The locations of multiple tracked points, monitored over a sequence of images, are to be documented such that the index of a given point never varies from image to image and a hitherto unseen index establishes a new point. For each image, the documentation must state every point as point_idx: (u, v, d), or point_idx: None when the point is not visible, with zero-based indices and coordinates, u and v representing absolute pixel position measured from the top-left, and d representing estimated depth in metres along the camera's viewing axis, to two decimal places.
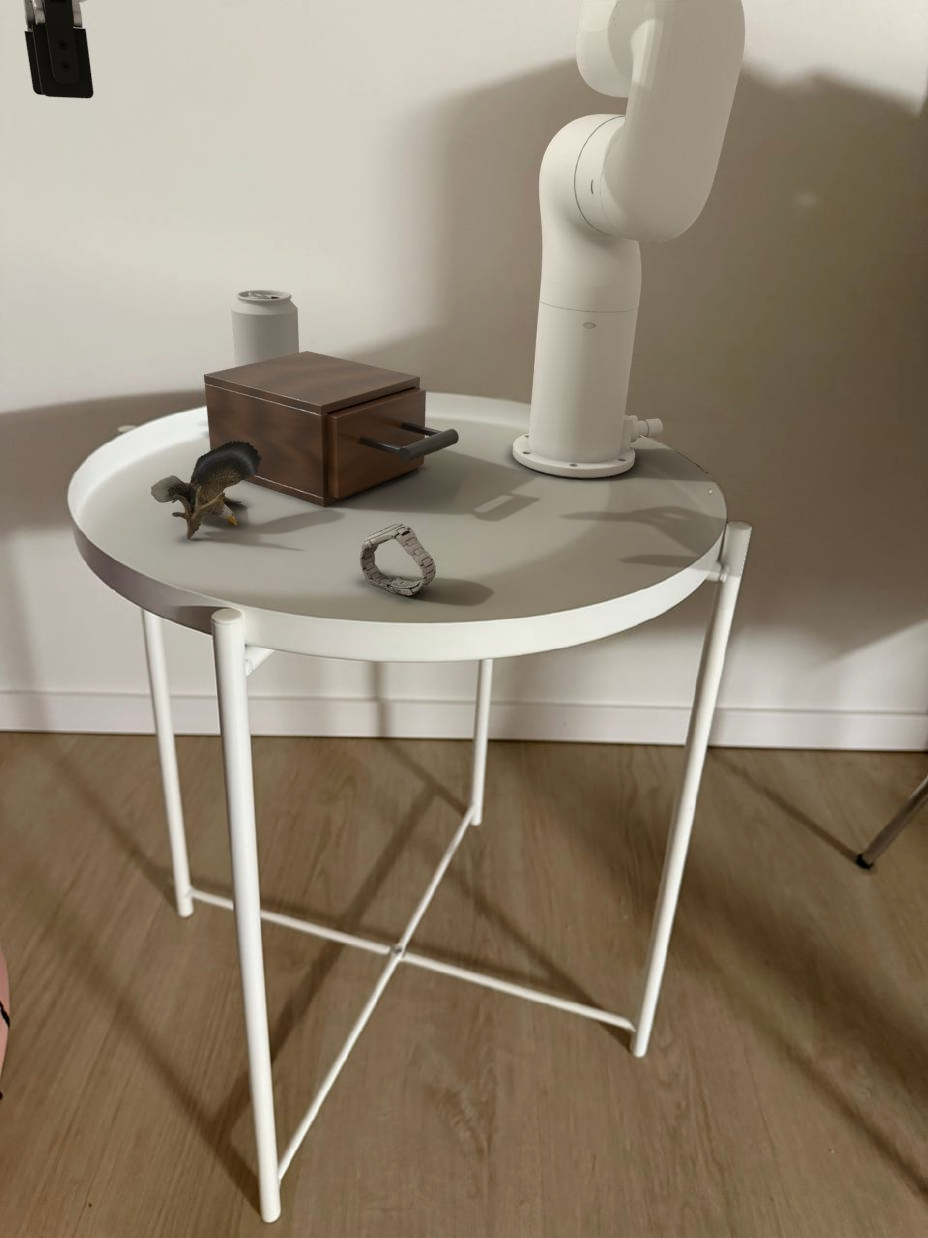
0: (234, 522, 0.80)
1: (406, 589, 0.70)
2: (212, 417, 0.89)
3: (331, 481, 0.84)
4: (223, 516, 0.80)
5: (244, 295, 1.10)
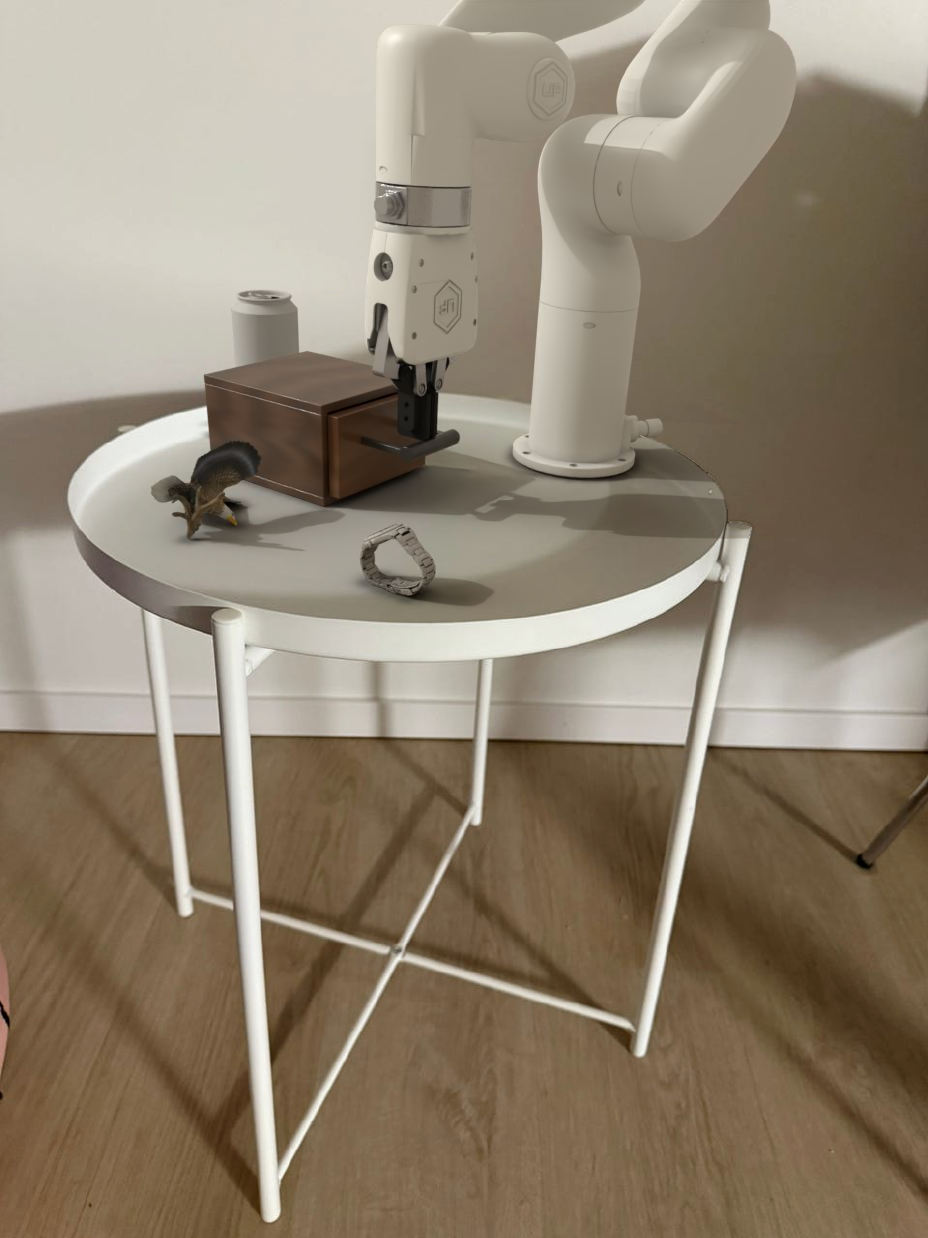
0: (234, 522, 0.80)
1: (406, 589, 0.70)
2: (212, 417, 0.89)
3: (332, 481, 0.84)
4: (223, 516, 0.80)
5: (244, 295, 1.10)
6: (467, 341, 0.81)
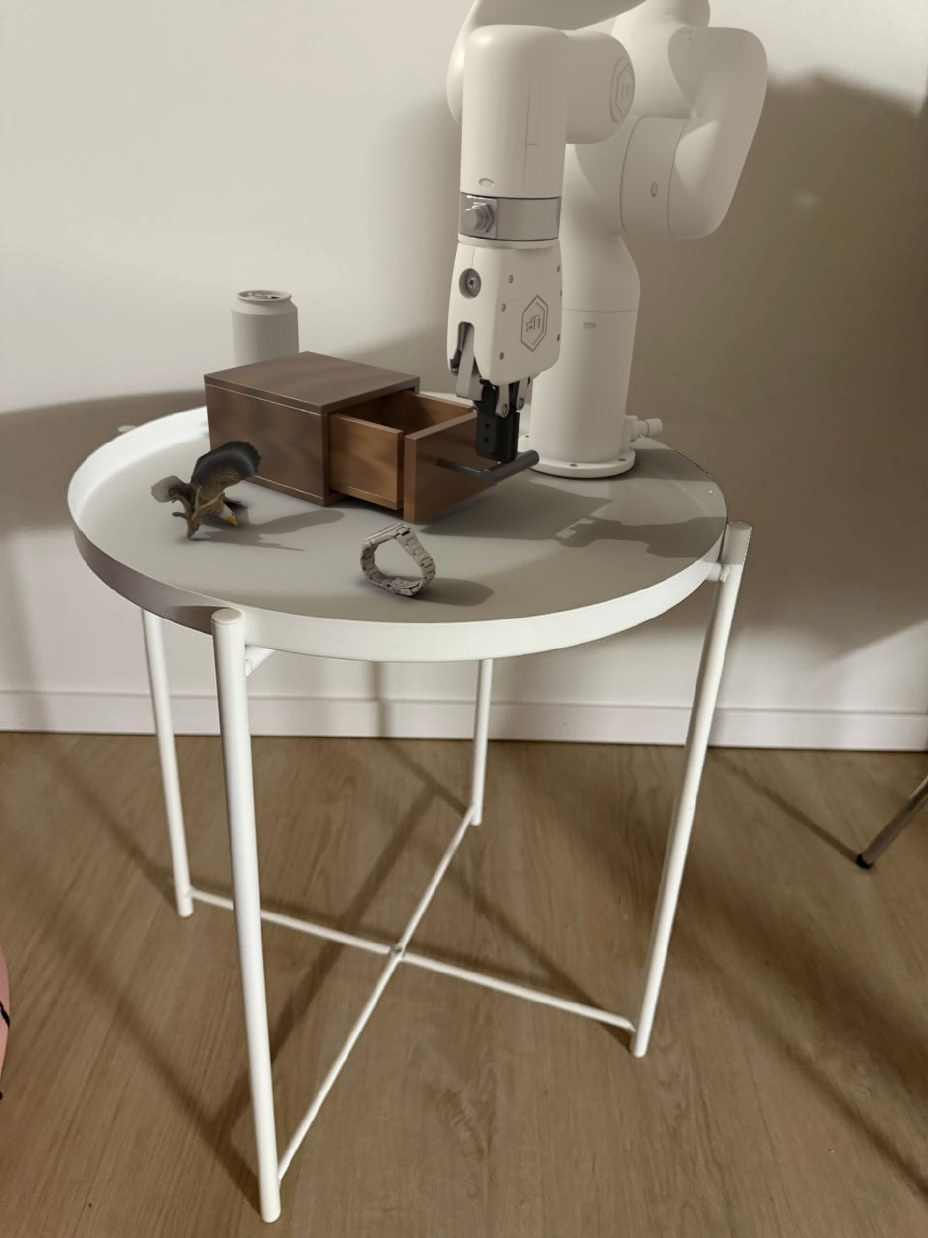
0: (234, 522, 0.80)
1: (406, 589, 0.70)
2: (212, 417, 0.89)
3: (407, 505, 0.80)
4: (223, 516, 0.80)
5: (244, 295, 1.10)
6: (550, 358, 0.77)
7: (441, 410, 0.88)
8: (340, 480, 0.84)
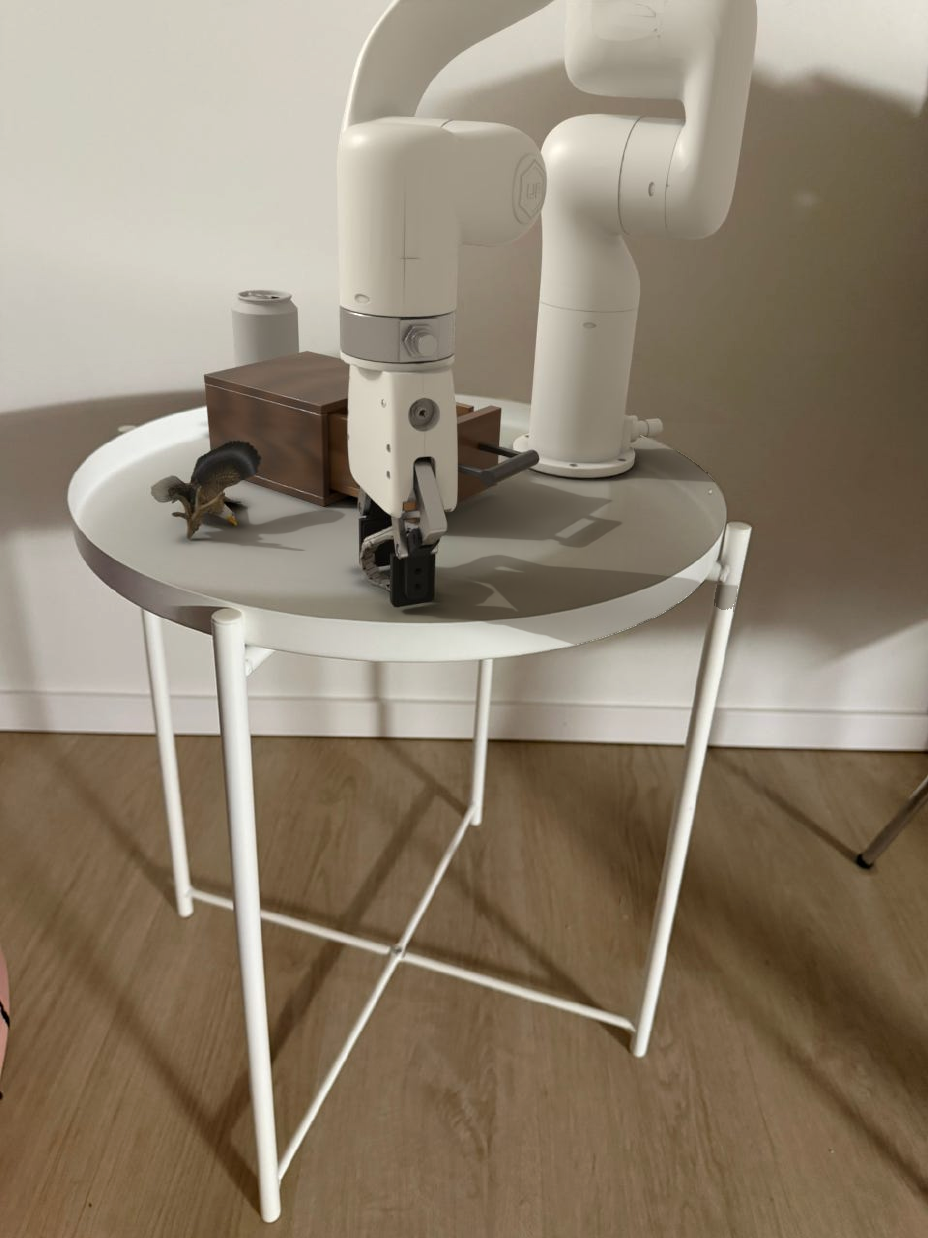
0: (234, 522, 0.80)
1: None
2: (212, 417, 0.89)
3: (407, 505, 0.80)
4: (223, 516, 0.80)
5: (244, 295, 1.10)
6: None
7: None
8: (340, 480, 0.84)
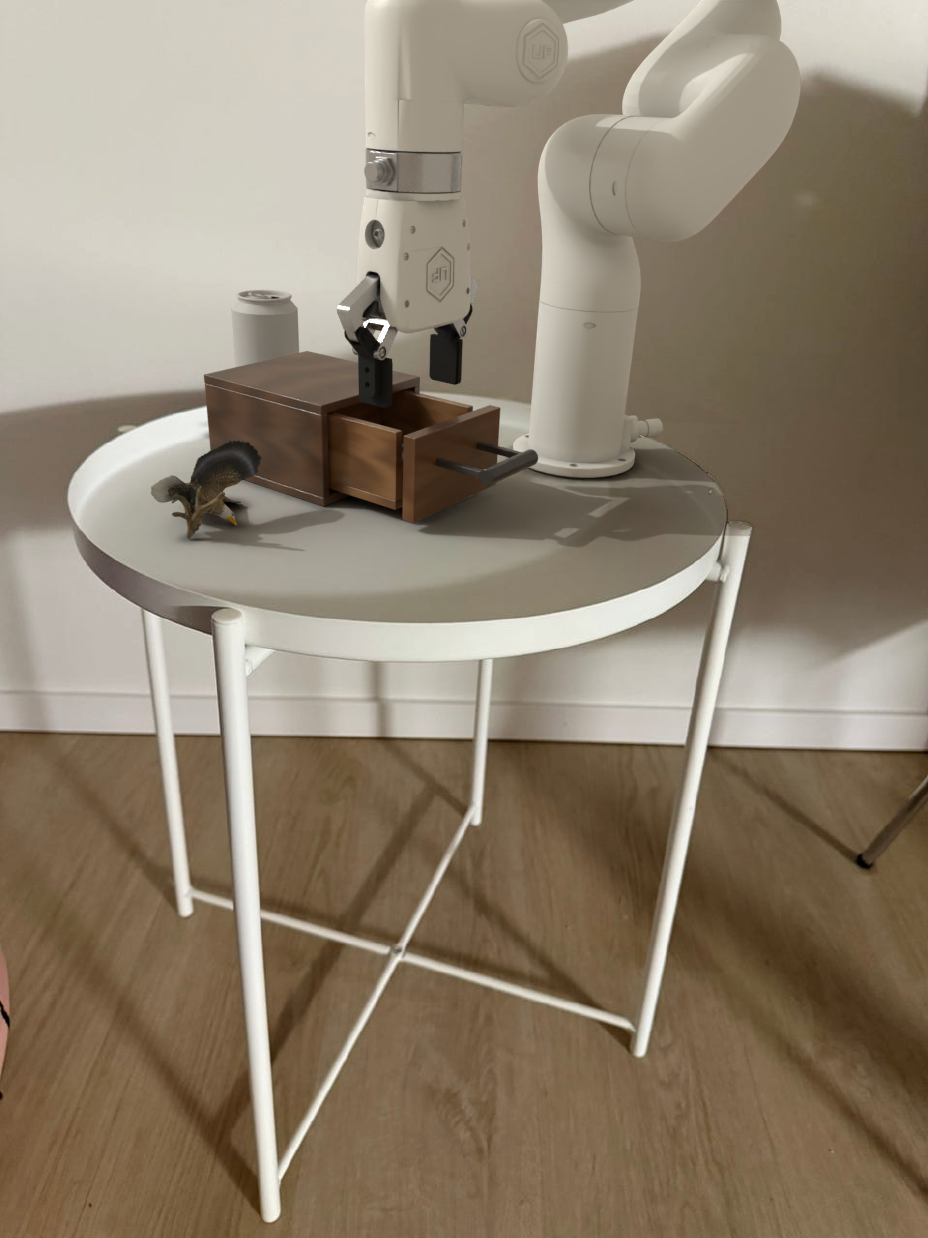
0: (234, 522, 0.80)
1: None
2: (212, 417, 0.89)
3: (406, 505, 0.80)
4: (223, 516, 0.80)
5: (244, 295, 1.10)
6: (460, 309, 0.81)
7: (440, 410, 0.88)
8: (339, 480, 0.84)
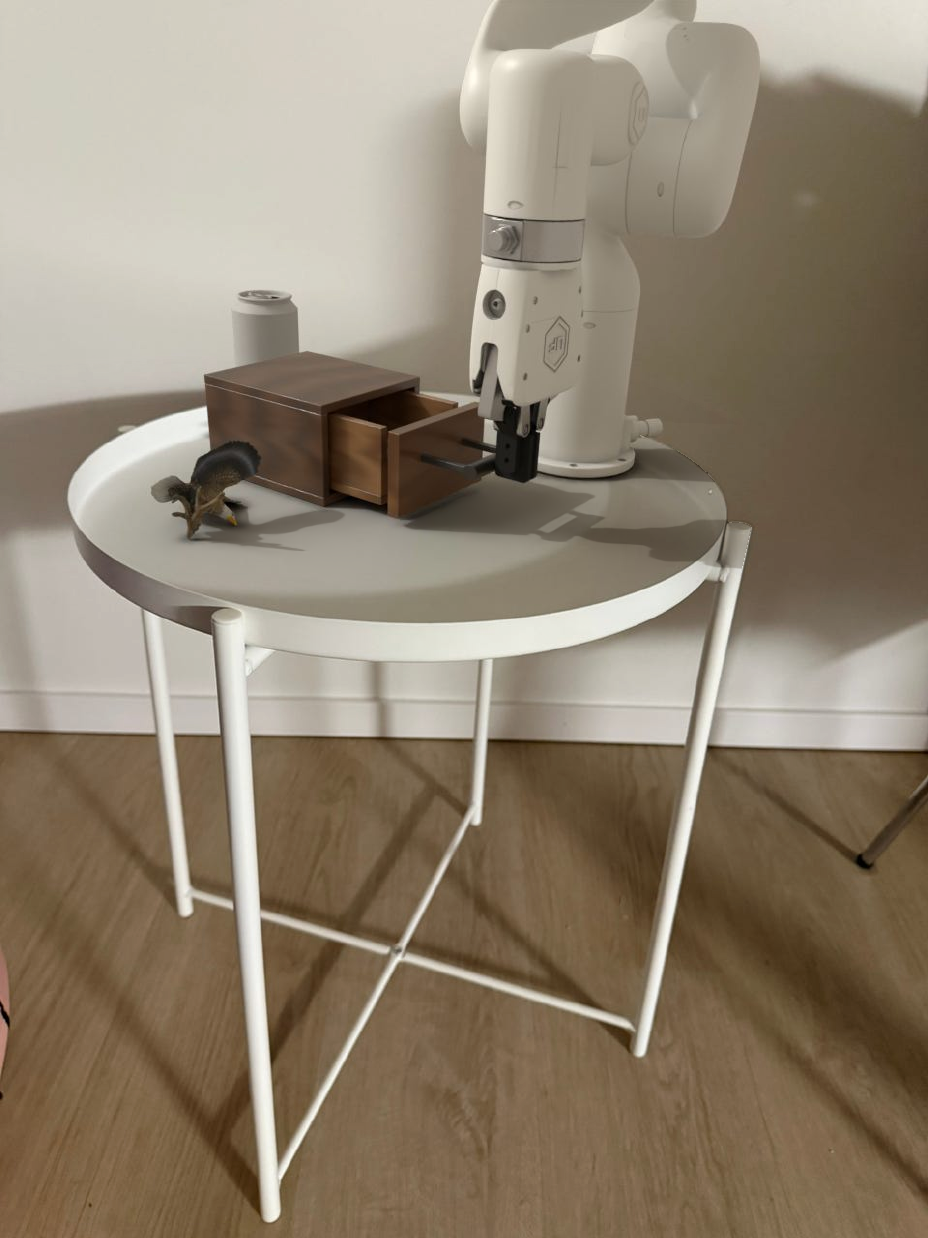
0: (234, 522, 0.80)
1: None
2: (212, 417, 0.89)
3: (391, 500, 0.81)
4: (223, 516, 0.80)
5: (244, 295, 1.10)
6: (571, 378, 0.77)
7: (426, 407, 0.89)
8: None
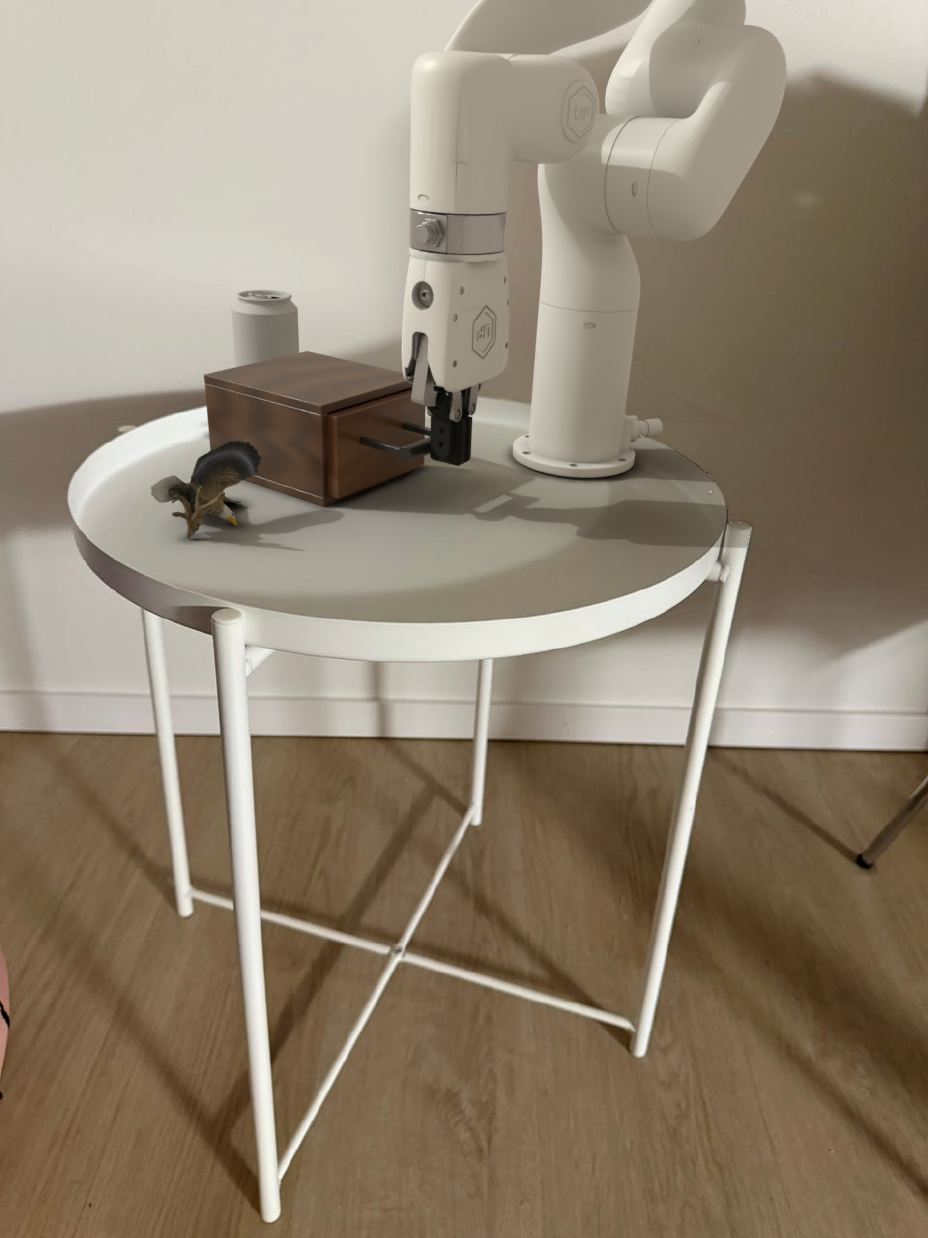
0: (234, 522, 0.80)
1: None
2: (212, 417, 0.89)
3: (331, 481, 0.84)
4: (223, 516, 0.80)
5: (244, 295, 1.10)
6: (500, 364, 0.80)
7: None
8: None
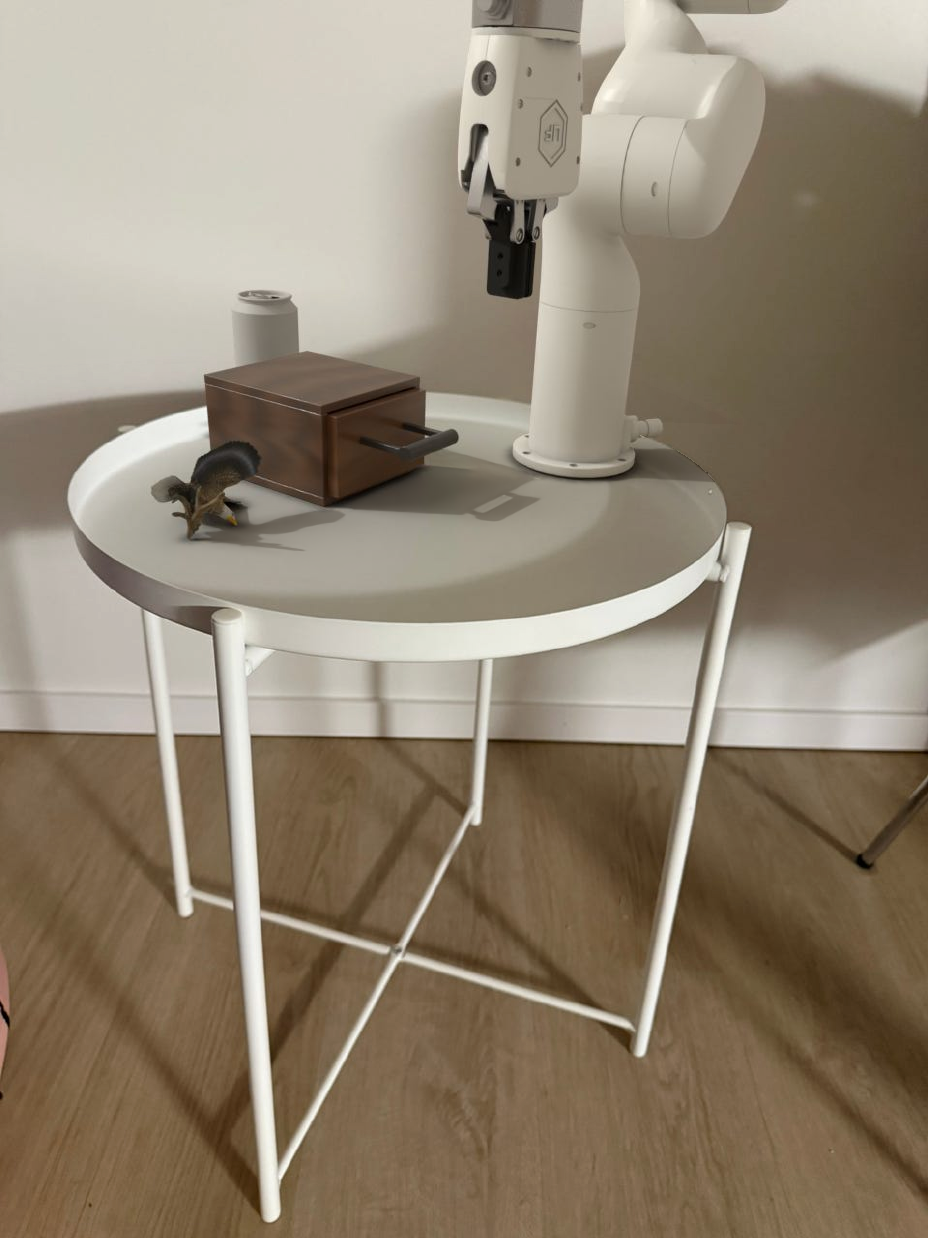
0: (234, 522, 0.80)
1: None
2: (212, 417, 0.89)
3: (331, 481, 0.84)
4: (223, 516, 0.80)
5: (244, 295, 1.10)
6: (569, 181, 0.71)
7: None
8: None
